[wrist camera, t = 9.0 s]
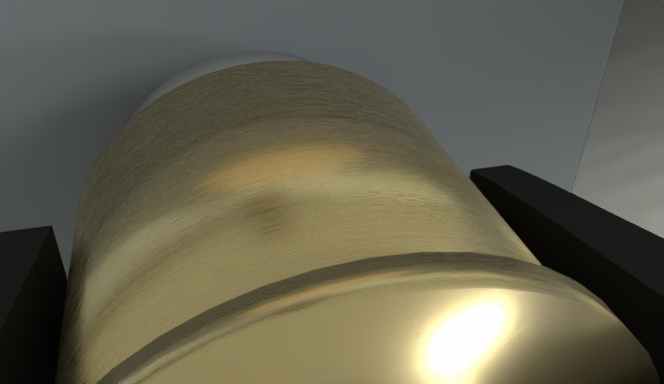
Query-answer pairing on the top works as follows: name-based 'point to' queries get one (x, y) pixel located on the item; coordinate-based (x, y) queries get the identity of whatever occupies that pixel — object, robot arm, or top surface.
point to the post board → (387, 41)
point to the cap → (312, 251)
